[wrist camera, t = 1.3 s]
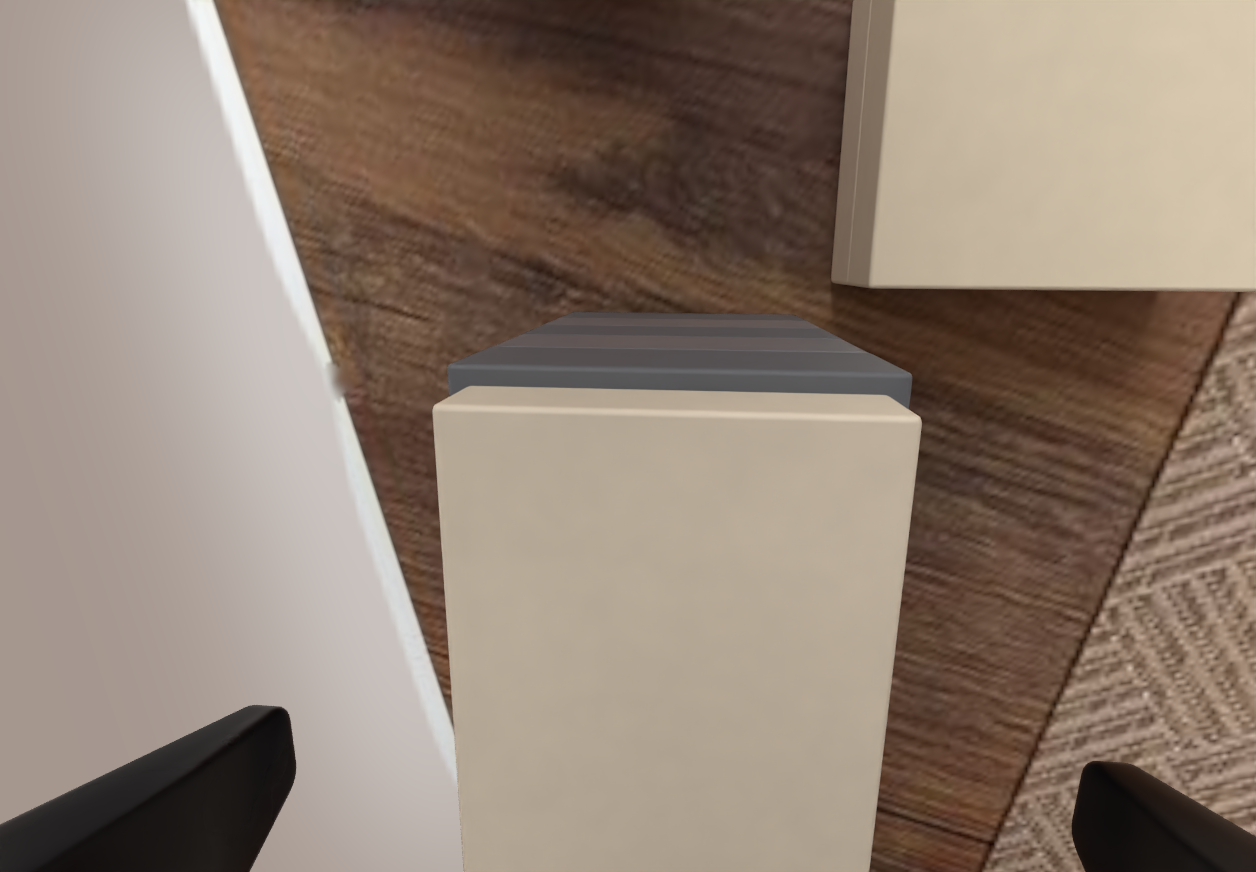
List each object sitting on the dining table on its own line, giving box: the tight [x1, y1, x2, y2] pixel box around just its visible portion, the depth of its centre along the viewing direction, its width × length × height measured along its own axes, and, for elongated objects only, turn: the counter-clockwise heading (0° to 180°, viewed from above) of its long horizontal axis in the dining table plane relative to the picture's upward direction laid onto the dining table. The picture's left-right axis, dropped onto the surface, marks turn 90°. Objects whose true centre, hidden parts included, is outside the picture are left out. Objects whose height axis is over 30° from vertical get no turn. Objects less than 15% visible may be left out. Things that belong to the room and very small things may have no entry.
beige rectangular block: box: [831, 0, 1256, 292], centre depth 13 cm, size 6×8×4 cm
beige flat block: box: [432, 386, 922, 872], centre depth 8 cm, size 8×5×1 cm, turn 0°
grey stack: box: [447, 312, 912, 409], centre depth 13 cm, size 8×6×9 cm, turn 0°
